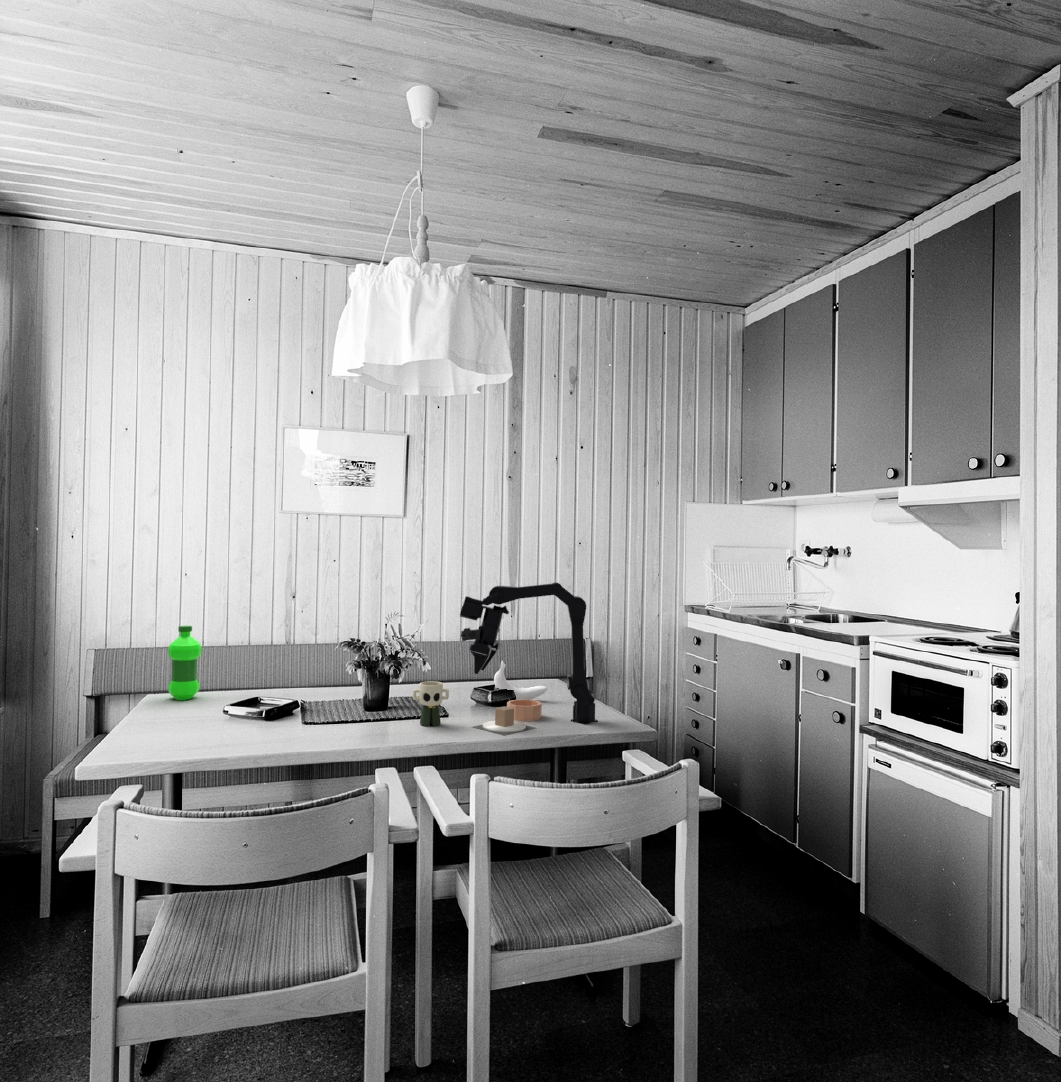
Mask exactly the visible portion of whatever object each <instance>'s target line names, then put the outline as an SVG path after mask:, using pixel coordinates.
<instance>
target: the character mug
mask: <svg viewBox="0 0 1061 1082" xmlns="http://www.w3.org/2000/svg"><path fill="white" fill-rule="evenodd" d="M417 693H419V694H418V695H419V696H417ZM443 693H445V696H444V695H443ZM449 693H450V690H449V689H448V688H444V684H443V682H440V681H434V680H433V681H432V680H431V681H430V680H429V681H422V682H420V683H419V687H418V688H413V690H412V700H413V701H418V702H419V704H420V705H421V706H422V708H421V713H420V719H419V724H420V726H423V727H431V726H430V725H432V727H437V726H440V725H441V713H440V707H439V706H440V705H442V702H443V700H449V698H450V697H449V696H450V694H449Z"/></svg>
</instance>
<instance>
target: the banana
mask: <svg viewBox="0 0 1061 1082" xmlns="http://www.w3.org/2000/svg"><path fill="white" fill-rule="evenodd" d="M506 667H507V664H505V663H504V661H503V660H501V663H500V667H499V670H497V671H496V673H495V674H494V677H493V682H494V685H495V688H496V689H497V688H499V689H507V690H514V692H515V694H516V700H520V699H526V700H534V699H536V698H537V697H540V696H543V695H544V694H545V693H546V692H547V691H548V687H547V686H544V685H535V686H532V687H524V688H519V687H515V686H513V685H511V684H510V683H509V682H508V680H507V679H506V676H505V671H504V670H505V668H506Z"/></svg>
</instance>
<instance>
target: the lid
mask: <svg viewBox="0 0 1061 1082" xmlns="http://www.w3.org/2000/svg"><path fill="white" fill-rule="evenodd" d="M494 711H495V712H494V716H495V717H494V718H495V719H494V720H488V721H485V722H484V723H482V725H483V729H485V730H487V731H486V732H488V731H492V732H500V733H512V732H519V731H523V730H525V729H526V723H524V722H523V721H518V720H514V708H510V707H507V706H501V707H495V709H494ZM492 732H491V733H492ZM523 732H524V731H523ZM519 733H520V732H519Z"/></svg>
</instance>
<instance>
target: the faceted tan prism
mask: <svg viewBox="0 0 1061 1082" xmlns="http://www.w3.org/2000/svg"><path fill="white" fill-rule="evenodd" d="M542 705H543V704H542V702H541V701H539V700H534V699H530V700H526V699H520V700H508V701H507V702H506V707H510V708H514V721H519V722H530V721H531V722H534V721H537V720H540V719H542Z"/></svg>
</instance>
